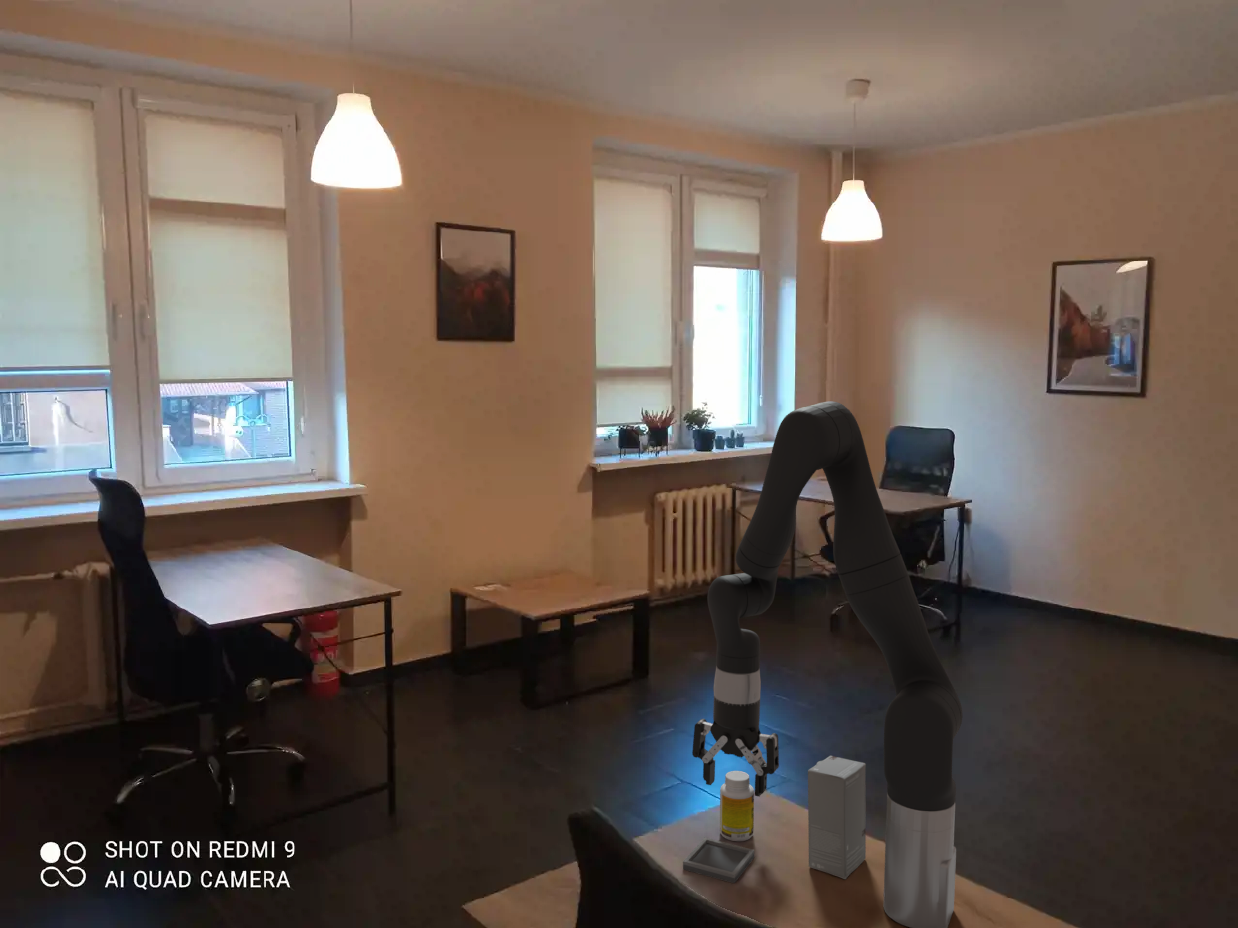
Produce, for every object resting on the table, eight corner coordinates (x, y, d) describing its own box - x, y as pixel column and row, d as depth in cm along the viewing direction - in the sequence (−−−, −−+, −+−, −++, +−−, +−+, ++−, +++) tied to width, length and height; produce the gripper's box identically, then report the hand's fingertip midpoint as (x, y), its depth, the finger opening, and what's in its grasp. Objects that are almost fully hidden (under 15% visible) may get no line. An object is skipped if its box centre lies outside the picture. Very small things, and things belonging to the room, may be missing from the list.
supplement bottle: (757, 841, 159) (758, 781, 158) (723, 843, 158) (724, 783, 157) (748, 825, 164) (749, 767, 163) (716, 827, 164) (717, 769, 163)
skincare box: (845, 881, 147) (848, 781, 145) (802, 866, 151) (805, 768, 149) (868, 858, 154) (871, 762, 152) (826, 844, 158) (828, 751, 156)
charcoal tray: (754, 857, 154) (754, 849, 154) (734, 883, 146) (734, 874, 146) (704, 844, 158) (704, 837, 158) (683, 869, 150) (683, 861, 150)
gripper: (786, 694, 158) (782, 789, 160) (705, 679, 165) (703, 770, 167) (771, 709, 152) (767, 808, 154) (687, 693, 158) (685, 788, 160)
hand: (734, 788), depth 160 cm, fingers open, 8 cm apart
